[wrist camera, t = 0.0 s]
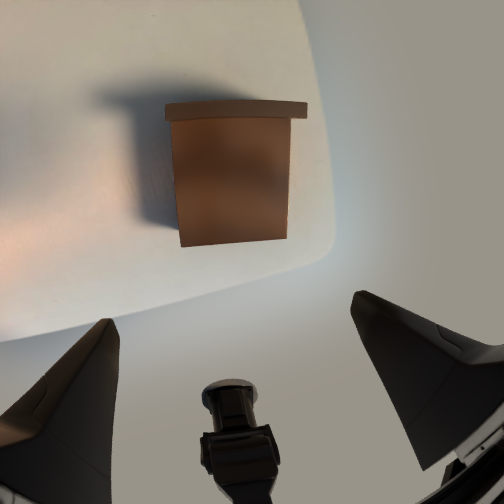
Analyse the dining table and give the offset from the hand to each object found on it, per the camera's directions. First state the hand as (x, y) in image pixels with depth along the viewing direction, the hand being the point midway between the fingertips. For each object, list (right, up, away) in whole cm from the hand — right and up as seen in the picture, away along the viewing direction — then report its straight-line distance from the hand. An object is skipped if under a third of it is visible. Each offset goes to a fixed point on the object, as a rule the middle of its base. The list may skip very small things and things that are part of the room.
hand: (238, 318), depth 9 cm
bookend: (-1, +9, +12) cm, 15 cm away
